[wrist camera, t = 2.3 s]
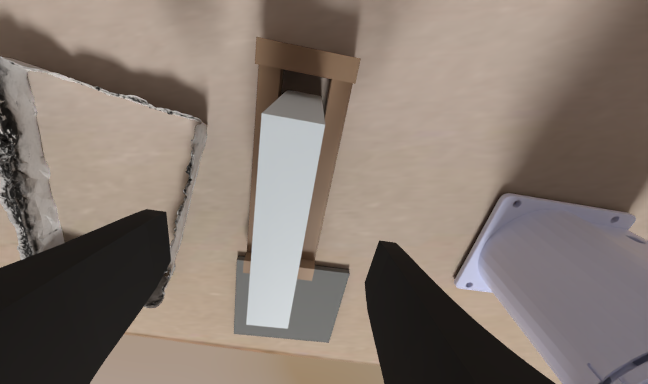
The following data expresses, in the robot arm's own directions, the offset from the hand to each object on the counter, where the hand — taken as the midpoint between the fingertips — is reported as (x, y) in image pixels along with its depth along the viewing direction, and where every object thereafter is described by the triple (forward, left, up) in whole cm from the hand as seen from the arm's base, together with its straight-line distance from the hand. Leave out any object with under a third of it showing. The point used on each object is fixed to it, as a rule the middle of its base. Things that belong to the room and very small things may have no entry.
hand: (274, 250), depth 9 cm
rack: (0, 0, -7) cm, 7 cm away
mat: (-1, +11, -7) cm, 13 cm away
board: (0, 0, -7) cm, 7 cm away
